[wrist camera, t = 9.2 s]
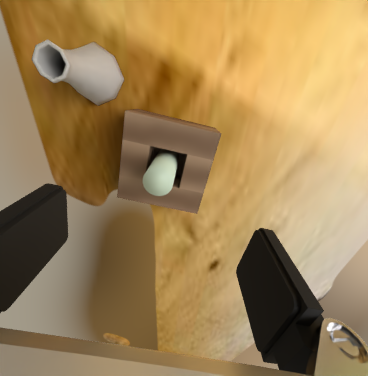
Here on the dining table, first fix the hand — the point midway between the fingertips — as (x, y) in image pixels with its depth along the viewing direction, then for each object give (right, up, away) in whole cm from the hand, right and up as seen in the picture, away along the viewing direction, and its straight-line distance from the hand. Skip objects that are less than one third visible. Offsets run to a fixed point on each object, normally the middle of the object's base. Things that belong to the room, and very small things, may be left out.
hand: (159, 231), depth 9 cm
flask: (-11, +18, +17) cm, 27 cm away
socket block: (-1, +7, +22) cm, 23 cm away
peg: (-1, +7, +21) cm, 22 cm away
